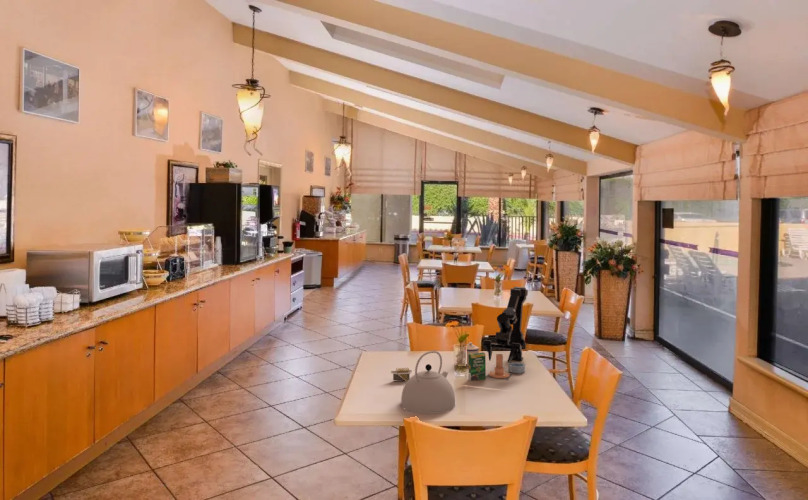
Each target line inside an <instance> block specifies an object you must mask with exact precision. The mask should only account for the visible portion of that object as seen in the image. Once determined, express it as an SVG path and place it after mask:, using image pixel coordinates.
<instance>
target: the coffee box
mask: <svg viewBox="0 0 808 500" xmlns="http://www.w3.org/2000/svg"><path fill="white" fill-rule="evenodd" d="M468 357H469V365H468V380H469V381H483V380H486V376H487V375H486V373H487V370H486V368H487V367H486V364H487V363H486V353H485V352H479V353H474V354H469V356H468Z"/></svg>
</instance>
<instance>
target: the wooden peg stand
mask: <svg viewBox="0 0 808 500" xmlns="http://www.w3.org/2000/svg"><path fill="white" fill-rule="evenodd" d="M495 356H496V357H495V367H494V371H492V372H491V371H490V372H488V374H489V376H490V377H492V378H491V379H494V378H498V379H497V380H502V379H504V378H508V377H509V376H510V374H511V373H509V372H506V371H505V367H503V365H504V355H503V354H501V353H497V354H496V355H495Z"/></svg>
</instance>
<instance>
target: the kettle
mask: <svg viewBox="0 0 808 500" xmlns="http://www.w3.org/2000/svg"><path fill="white" fill-rule="evenodd" d="M428 354H437V355H438V356H439V368H438V372H437V371H433V370H432V367H433V366H432V365H431V364H429V363H428V364H426V365H425V370H423V371H419V372H418V367H419V364H420V362H421V360H422V359H423V357H425V356H427V355H428ZM442 358H443V356H442V355H441V353H440V352H439V351H436V350H431V351H426V352H424V353H423V354H421V356H420V357H419V358H418V359H417V361H416V364H415V369H414V374H413V375H412V376H410V379H409V380H407V381H405V382H406V383H405V384H404V386H403V389H402V391H401V400H400V405H402V406H401V407H402V408H403V409H404V408H405V409H404V410H405V411H408V410H409V411H408V412H412V413H414V414H415V413H416V414H422V415H437V414H438V413H439V414H443V412H444V413H448V412H450V411H452V410H454V409H455V407H456V395H455V390H454V388H453V385H452V384H451V383H450V381H449V380H448V379H447V376H448V374H449V372H447V371H445V370H444V371H443V372H441V371H442V366H443V359H442ZM453 408H454V409H453ZM447 411H448V412H447Z"/></svg>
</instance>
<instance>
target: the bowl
mask: <svg viewBox="0 0 808 500" xmlns="http://www.w3.org/2000/svg"><path fill="white" fill-rule="evenodd" d="M508 372H510V373H511V374H523V373H525V372H526V364H524V363H522V362H509V363H508Z"/></svg>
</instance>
